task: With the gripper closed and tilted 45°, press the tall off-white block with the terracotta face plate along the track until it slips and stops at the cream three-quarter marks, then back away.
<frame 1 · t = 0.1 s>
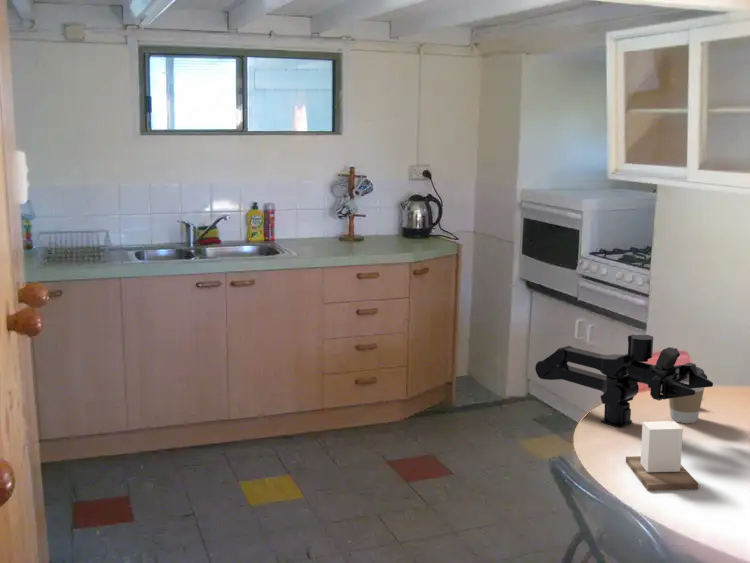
hand: (703, 388, 211), 17 cm above the table, tool horizontal, fingers open, 9 cm apart
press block: (660, 446, 199), point 7 cm above the table, slide at 0.0 cm
coffee cup: (683, 419, 235), on the table
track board: (660, 475, 199), on the table
cable clip: (680, 401, 251), on the table
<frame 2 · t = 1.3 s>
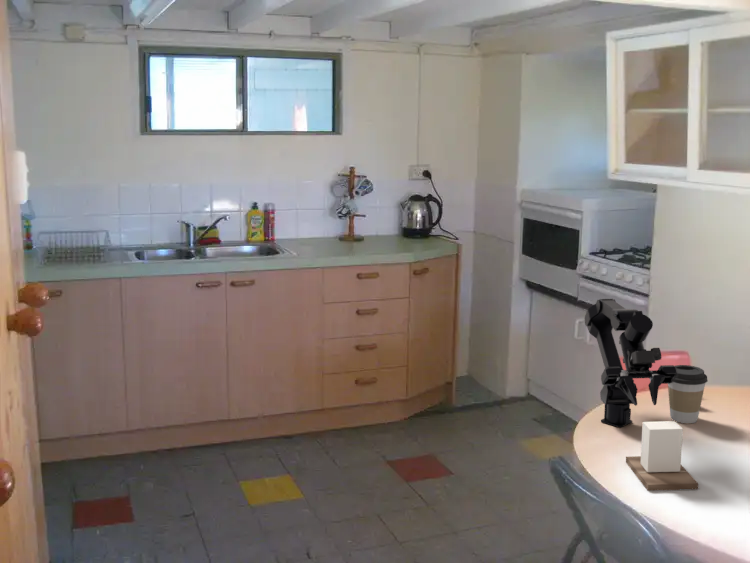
hand: (645, 404, 209), 14 cm above the table, tool tilted 45°, fingers open, 5 cm apart
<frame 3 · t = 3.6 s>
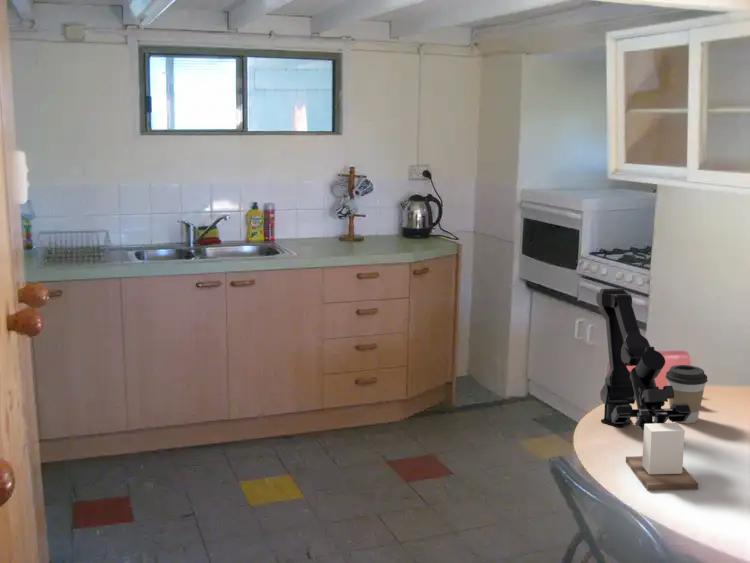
hand: (657, 445, 201), 7 cm above the table, tool tilted 45°, fingers closed, pressing on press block
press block: (662, 448, 197), point 7 cm above the table, slide at 1.2 cm, touching gripper
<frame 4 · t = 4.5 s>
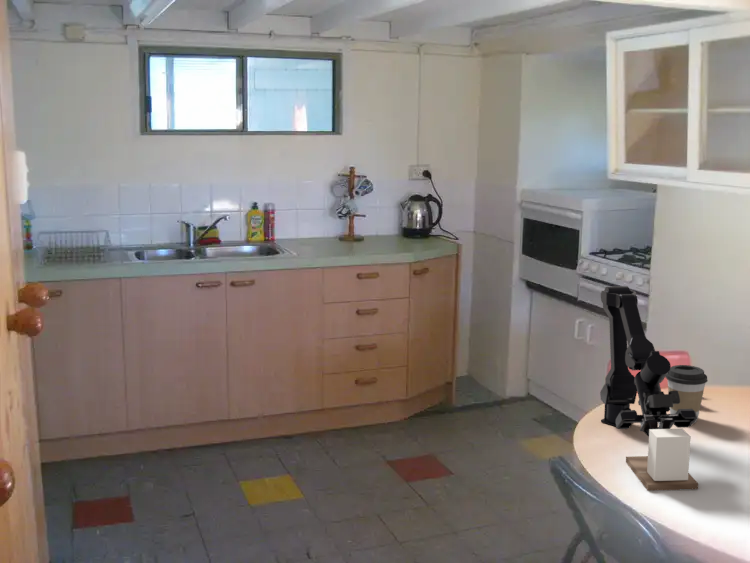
hand: (663, 451, 197), 7 cm above the table, tool tilted 45°, fingers closed
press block: (668, 454, 194), point 7 cm above the table, slide at 4.8 cm
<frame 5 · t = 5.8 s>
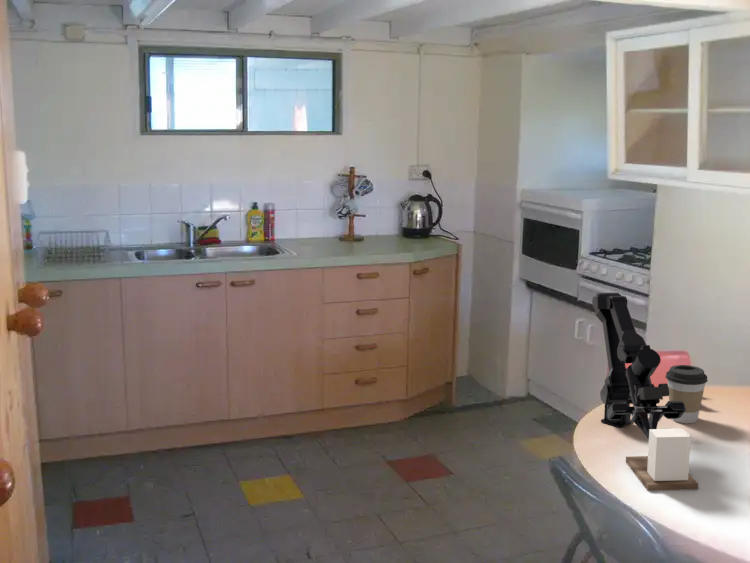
hand: (652, 441, 204), 6 cm above the table, tool tilted 45°, fingers closed
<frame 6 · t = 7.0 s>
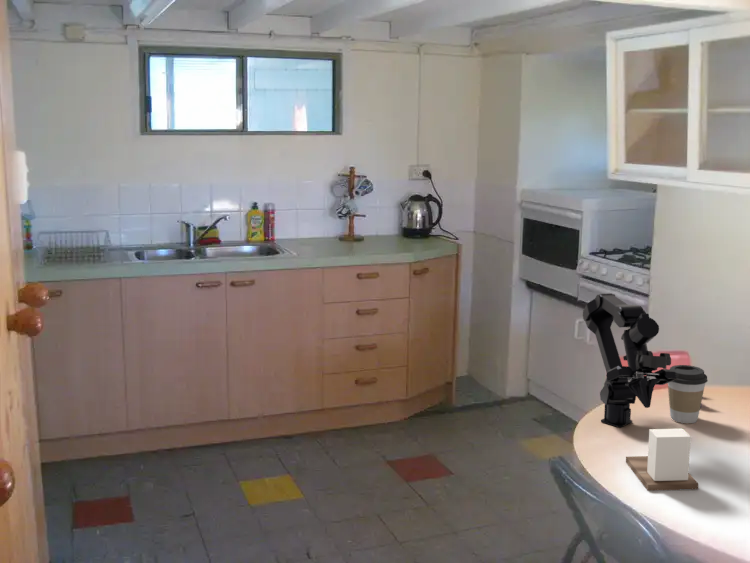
hand: (647, 407, 211), 12 cm above the table, tool tilted 35°, fingers closed
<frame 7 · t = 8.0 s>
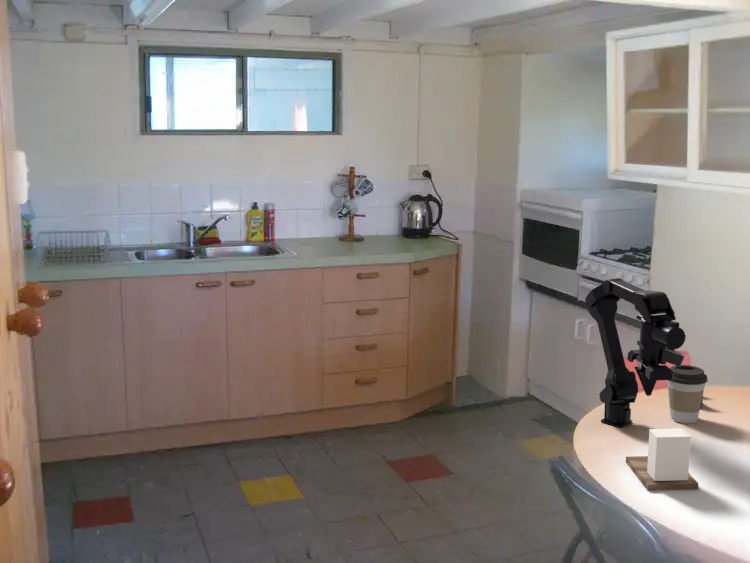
hand: (648, 395, 217), 13 cm above the table, tool pointing down, fingers closed
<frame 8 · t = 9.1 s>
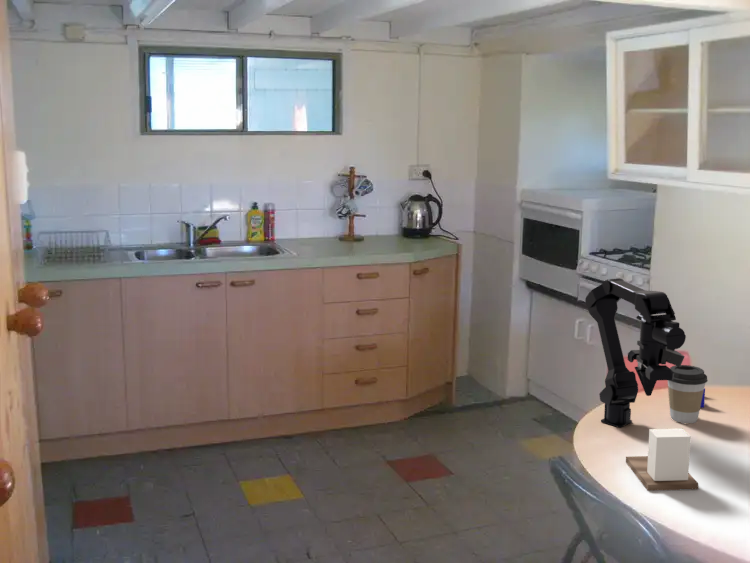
hand: (648, 395, 217), 13 cm above the table, tool pointing down, fingers closed
at the end: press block slide at 4.8 cm; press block tilted 0° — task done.
